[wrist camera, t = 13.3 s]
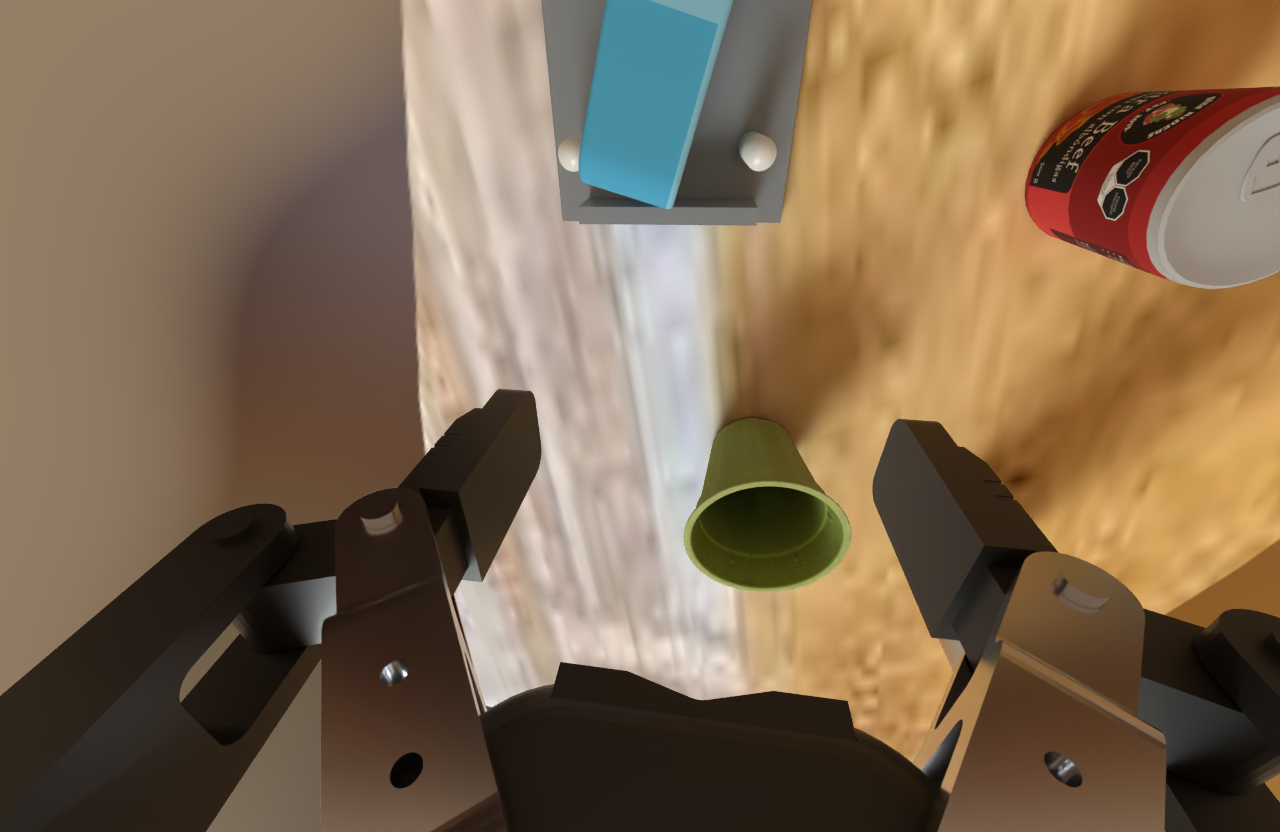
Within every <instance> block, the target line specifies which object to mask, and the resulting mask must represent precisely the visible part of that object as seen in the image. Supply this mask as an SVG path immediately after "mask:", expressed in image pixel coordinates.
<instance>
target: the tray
mask: <svg viewBox="0 0 1280 832" xmlns="http://www.w3.org/2000/svg"><path fill="white" fill-rule="evenodd" d="M541 1H542V11H543V21H544V32H545V42H546V52H547V62H548V73H549V83H550V93H551V104H552V114H553V124H554V134H555V145H556V155H557V165H558V176H559V186H560V196H561V206H562V217H563V221H579V223H580V224H654V225H756V223H757V222H769V223H780V221H781V214H782V207H783V200H784V193H785V186H786V179H787V172H788V165H789V158H790V151H791V145H792V138H793V131H794V124H795V117H796V110H797V103H798V96H799V89H800V82H801V75H802V68H803V61H804V54H805V47H806V40H807V33H808V26H809V19H810V12H811V5H812V0H734V1H733V4H732V7H731V11H730V14H729V18H728V21H727V25H726V28H725V31H724V35H723V38H722V42H721V45H720V48H719V52H718V55H717V59H716V62H715V66H714V69H713V72H712V76H711V79H710V83H709V86H708V89H707V93H706V96H705V100H704V103H703V106H702V110H701V113H700V117H699V120H698V124H697V127H696V130H695V134H694V137H693V141H692V144H691V147H690V151H689V154H688V158H687V161H686V164H685V168H684V171H683V175H682V178H681V182H680V185H679V188H678V192H677V195H676V198H675V202H674V205H673V207H672V208H671V209H664V208H661V207H658V206H655V205H652V204H648V203H645V202H642V201H639V200H636V199H633V198H630V197H627V196H623V195H620V194H617V193H614V192H611V191H608V190H605V189H602V188H598V187H595V186H592V185H589V184H586V183H584V182H582V181H581V179H580V176H579V153H580V146H581V140H582V135H583V129H584V123H585V118H586V112H587V106H588V100H589V95H590V89H591V83H592V77H593V72H594V66H595V60H596V55H597V49H598V43H599V37H600V32H601V26H602V20H603V14H604V9H605V3H606V0H541Z"/></svg>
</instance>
